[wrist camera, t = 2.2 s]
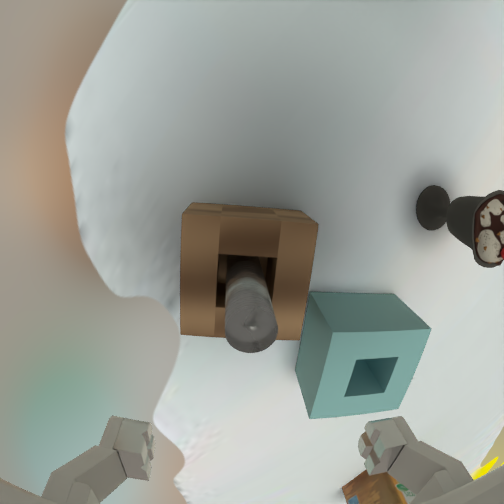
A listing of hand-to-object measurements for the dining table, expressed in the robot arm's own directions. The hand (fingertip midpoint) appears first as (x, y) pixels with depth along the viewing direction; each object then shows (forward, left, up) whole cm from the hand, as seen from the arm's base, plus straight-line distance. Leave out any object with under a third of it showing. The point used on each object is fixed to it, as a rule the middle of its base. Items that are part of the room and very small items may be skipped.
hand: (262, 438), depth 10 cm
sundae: (-7, +20, -21) cm, 30 cm away
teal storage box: (+8, +12, -21) cm, 25 cm away
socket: (0, 0, -21) cm, 21 cm away
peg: (0, 0, -20) cm, 20 cm away
